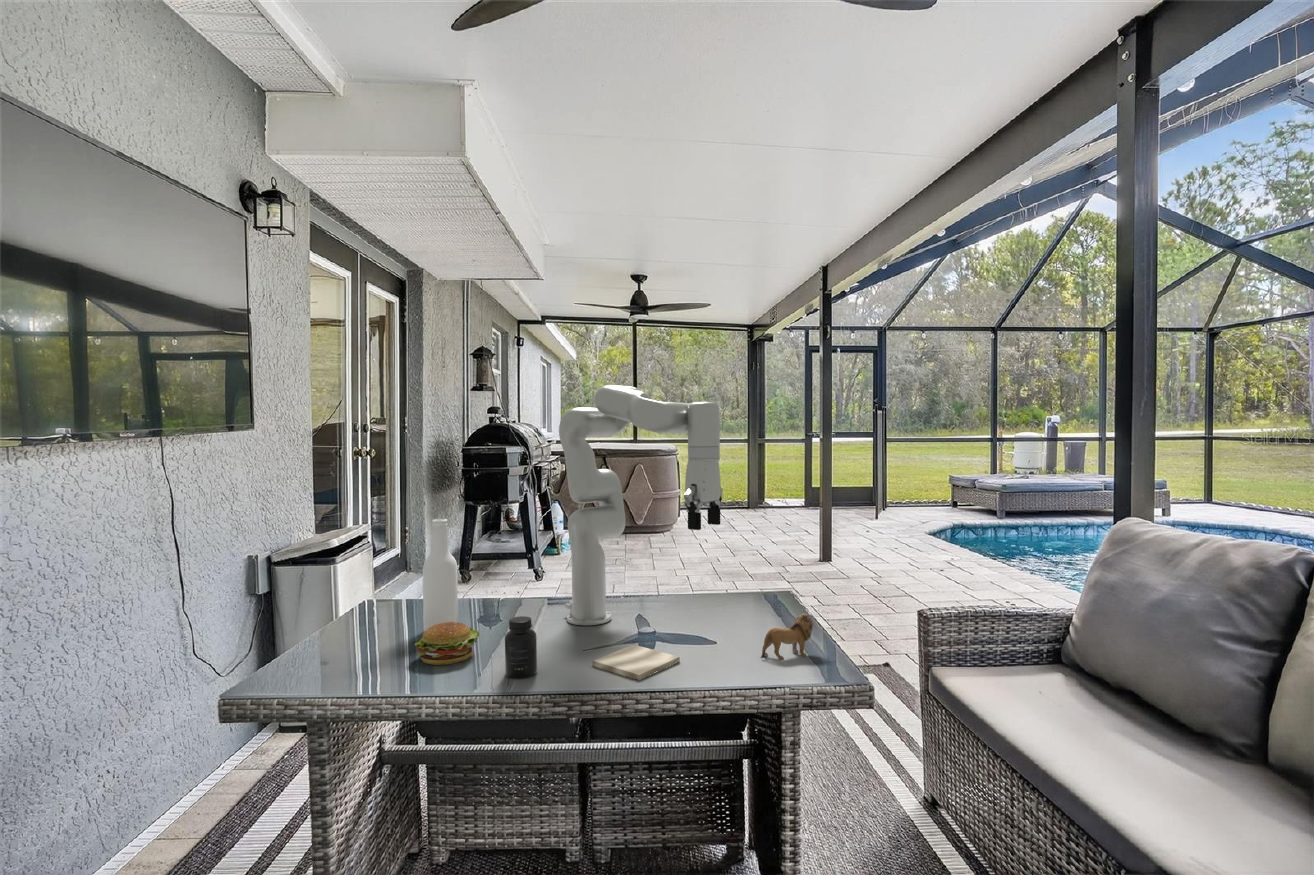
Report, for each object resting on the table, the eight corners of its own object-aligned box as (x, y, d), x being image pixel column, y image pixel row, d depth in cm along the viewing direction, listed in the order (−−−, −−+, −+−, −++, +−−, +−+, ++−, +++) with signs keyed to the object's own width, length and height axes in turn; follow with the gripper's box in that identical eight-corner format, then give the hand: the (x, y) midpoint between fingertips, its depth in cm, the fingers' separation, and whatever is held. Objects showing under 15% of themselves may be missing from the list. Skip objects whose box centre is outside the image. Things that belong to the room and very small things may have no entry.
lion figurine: (804, 647, 155) (804, 610, 155) (819, 653, 150) (818, 615, 150) (754, 657, 148) (754, 618, 148) (768, 664, 143) (767, 624, 143)
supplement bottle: (507, 668, 142) (507, 615, 142) (538, 667, 143) (537, 614, 143) (502, 680, 136) (502, 624, 136) (535, 679, 136) (534, 623, 136)
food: (454, 671, 141) (454, 635, 141) (404, 664, 146) (404, 629, 146) (491, 651, 154) (491, 618, 154) (443, 645, 159) (443, 613, 159)
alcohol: (416, 634, 168) (414, 521, 168) (439, 624, 177) (438, 517, 177) (442, 637, 165) (441, 522, 165) (464, 628, 173) (463, 518, 173)
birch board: (592, 665, 143) (592, 660, 143) (634, 649, 154) (634, 644, 154) (639, 680, 134) (638, 675, 134) (679, 662, 145) (679, 657, 145)
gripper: (706, 453, 159) (707, 521, 159) (671, 455, 145) (672, 530, 145) (734, 453, 155) (734, 523, 155) (700, 455, 141) (701, 533, 141)
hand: (704, 526), depth 150 cm, fingers open, 9 cm apart
